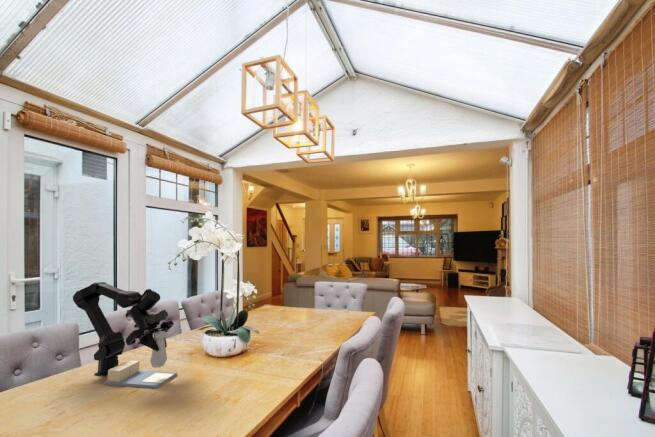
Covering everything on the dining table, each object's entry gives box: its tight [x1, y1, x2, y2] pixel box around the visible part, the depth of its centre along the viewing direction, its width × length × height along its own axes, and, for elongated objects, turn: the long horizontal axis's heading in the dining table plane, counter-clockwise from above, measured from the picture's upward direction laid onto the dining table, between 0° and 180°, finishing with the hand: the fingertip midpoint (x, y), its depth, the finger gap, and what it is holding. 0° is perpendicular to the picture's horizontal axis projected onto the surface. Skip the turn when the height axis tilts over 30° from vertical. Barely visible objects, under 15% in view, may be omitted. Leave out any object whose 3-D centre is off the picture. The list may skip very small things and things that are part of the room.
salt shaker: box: [149, 331, 168, 369], centre depth 122 cm, size 6×6×13 cm
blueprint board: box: [103, 359, 178, 389], centre depth 122 cm, size 22×12×5 cm, turn 82°
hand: (162, 348), depth 121 cm, fingers closed on salt shaker, 3 cm apart
